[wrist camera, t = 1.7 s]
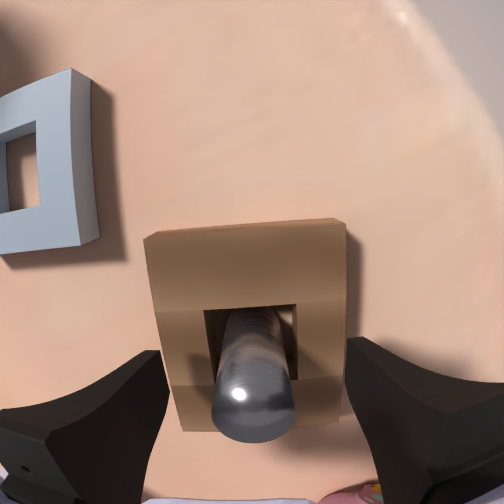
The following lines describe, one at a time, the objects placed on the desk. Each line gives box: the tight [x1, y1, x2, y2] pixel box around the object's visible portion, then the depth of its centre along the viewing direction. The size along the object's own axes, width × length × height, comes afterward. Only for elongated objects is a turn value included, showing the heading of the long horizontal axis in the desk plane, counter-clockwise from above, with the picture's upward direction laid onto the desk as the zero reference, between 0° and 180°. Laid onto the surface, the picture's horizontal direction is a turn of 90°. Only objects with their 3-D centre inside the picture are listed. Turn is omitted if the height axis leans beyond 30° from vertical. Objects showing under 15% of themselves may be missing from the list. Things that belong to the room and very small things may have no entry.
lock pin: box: [211, 306, 295, 443], centre depth 12 cm, size 3×3×6 cm
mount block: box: [143, 218, 347, 432], centre depth 14 cm, size 10×8×2 cm
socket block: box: [0, 68, 100, 254], centre depth 13 cm, size 8×8×2 cm
